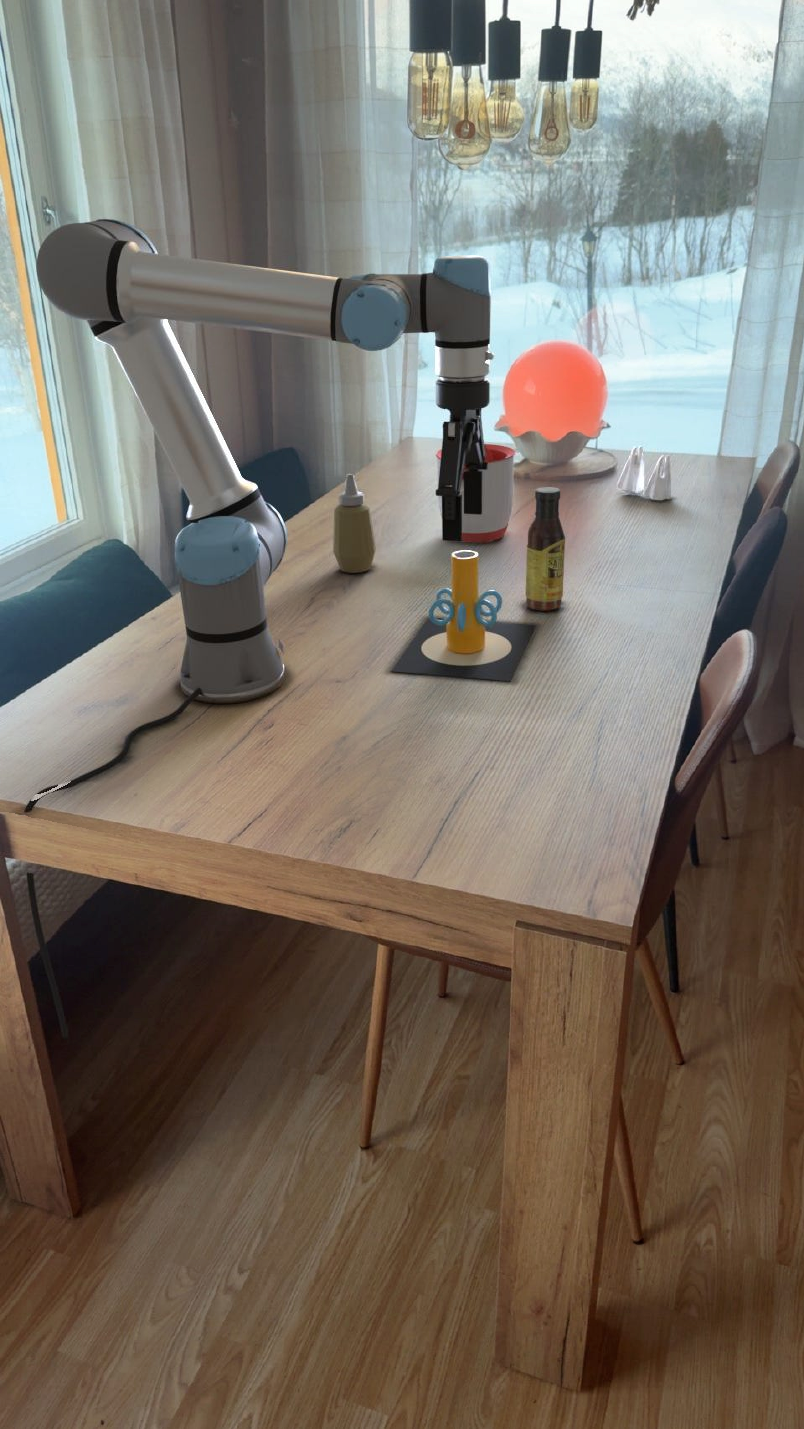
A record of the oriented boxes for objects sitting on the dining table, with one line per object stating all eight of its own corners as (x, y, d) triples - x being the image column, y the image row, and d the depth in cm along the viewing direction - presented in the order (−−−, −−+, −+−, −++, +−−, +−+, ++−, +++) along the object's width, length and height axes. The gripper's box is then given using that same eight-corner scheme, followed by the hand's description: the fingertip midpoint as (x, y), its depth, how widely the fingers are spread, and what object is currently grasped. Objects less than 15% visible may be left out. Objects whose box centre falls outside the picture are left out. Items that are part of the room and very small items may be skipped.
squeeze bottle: (385, 567, 200) (381, 473, 192) (355, 578, 195) (349, 482, 187) (355, 559, 205) (350, 466, 197) (325, 570, 200) (318, 475, 192)
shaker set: (614, 495, 239) (617, 446, 234) (623, 491, 242) (626, 442, 237) (663, 502, 232) (666, 452, 227) (671, 498, 235) (675, 448, 230)
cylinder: (494, 664, 158) (494, 569, 151) (426, 661, 160) (423, 566, 153) (504, 633, 169) (504, 542, 162) (439, 630, 171) (437, 541, 164)
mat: (510, 681, 153) (510, 681, 153) (391, 671, 157) (391, 671, 157) (535, 625, 171) (535, 624, 171) (428, 618, 176) (428, 617, 176)
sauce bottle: (552, 615, 175) (556, 497, 166) (518, 609, 178) (520, 493, 169) (569, 602, 180) (573, 487, 171) (535, 596, 183) (538, 483, 174)
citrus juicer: (422, 546, 211) (419, 445, 202) (454, 521, 225) (452, 426, 216) (496, 553, 205) (496, 450, 196) (524, 528, 219) (525, 430, 210)
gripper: (469, 394, 134) (469, 554, 144) (506, 363, 156) (504, 504, 165) (412, 393, 136) (416, 551, 146) (457, 363, 158) (457, 502, 167)
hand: (463, 526), depth 156 cm, fingers open, 13 cm apart
